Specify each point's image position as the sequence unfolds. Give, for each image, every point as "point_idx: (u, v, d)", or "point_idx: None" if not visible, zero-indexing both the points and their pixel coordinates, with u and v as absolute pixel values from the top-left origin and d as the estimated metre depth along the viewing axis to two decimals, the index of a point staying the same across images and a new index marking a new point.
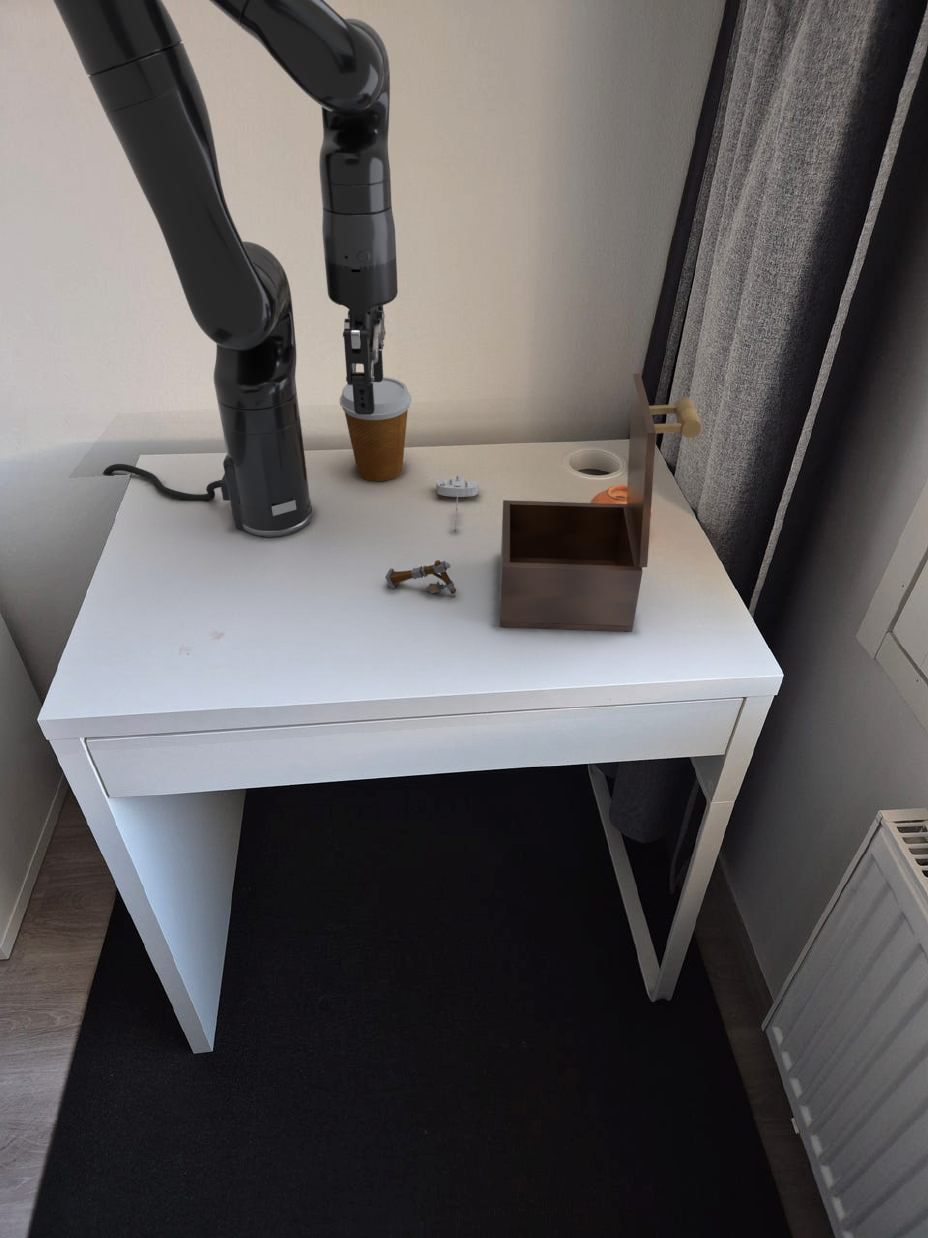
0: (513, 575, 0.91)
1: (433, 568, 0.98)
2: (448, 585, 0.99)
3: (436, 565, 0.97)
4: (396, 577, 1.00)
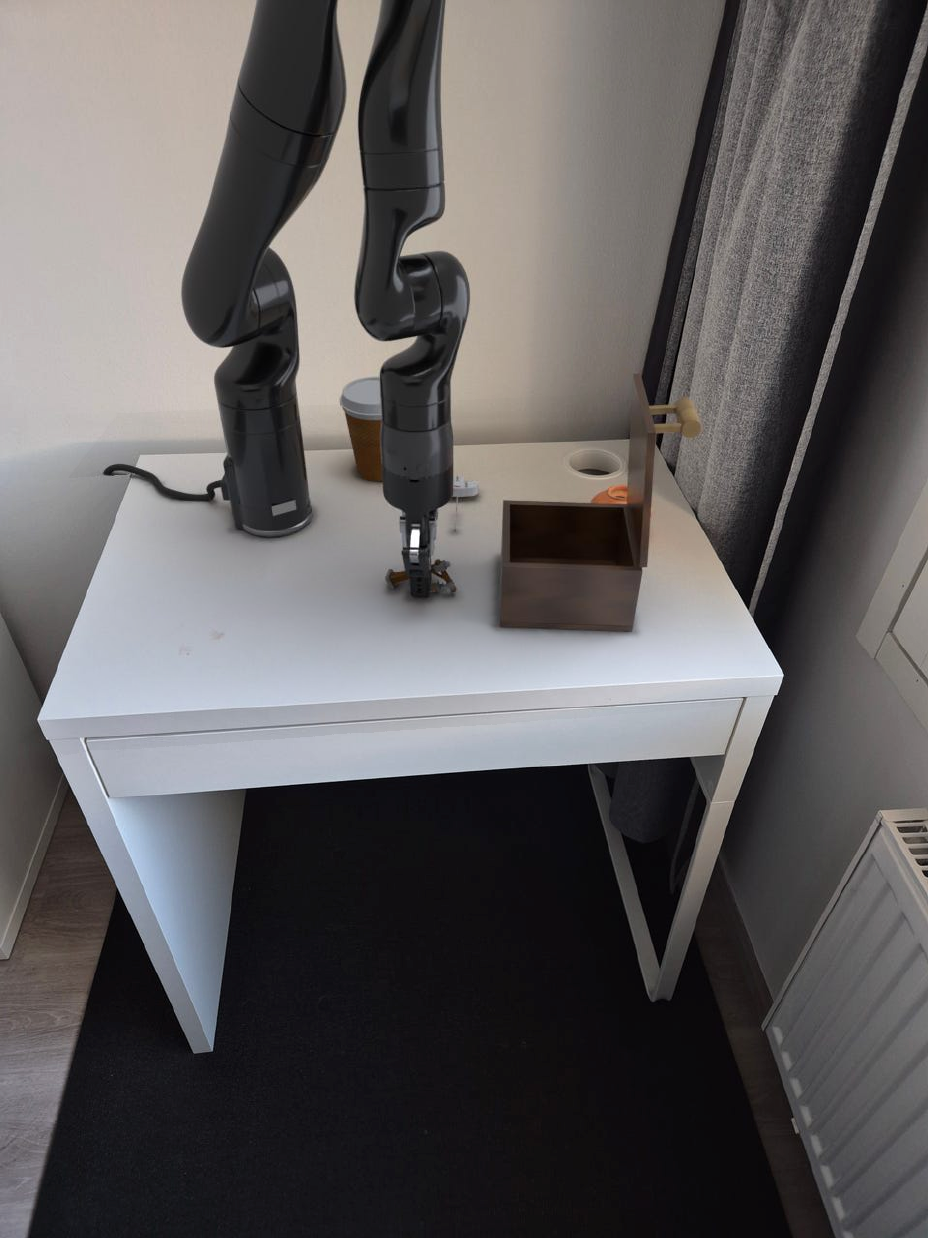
0: (513, 575, 0.91)
1: (433, 567, 0.98)
2: (449, 584, 0.99)
3: (436, 564, 0.97)
4: (396, 577, 1.00)
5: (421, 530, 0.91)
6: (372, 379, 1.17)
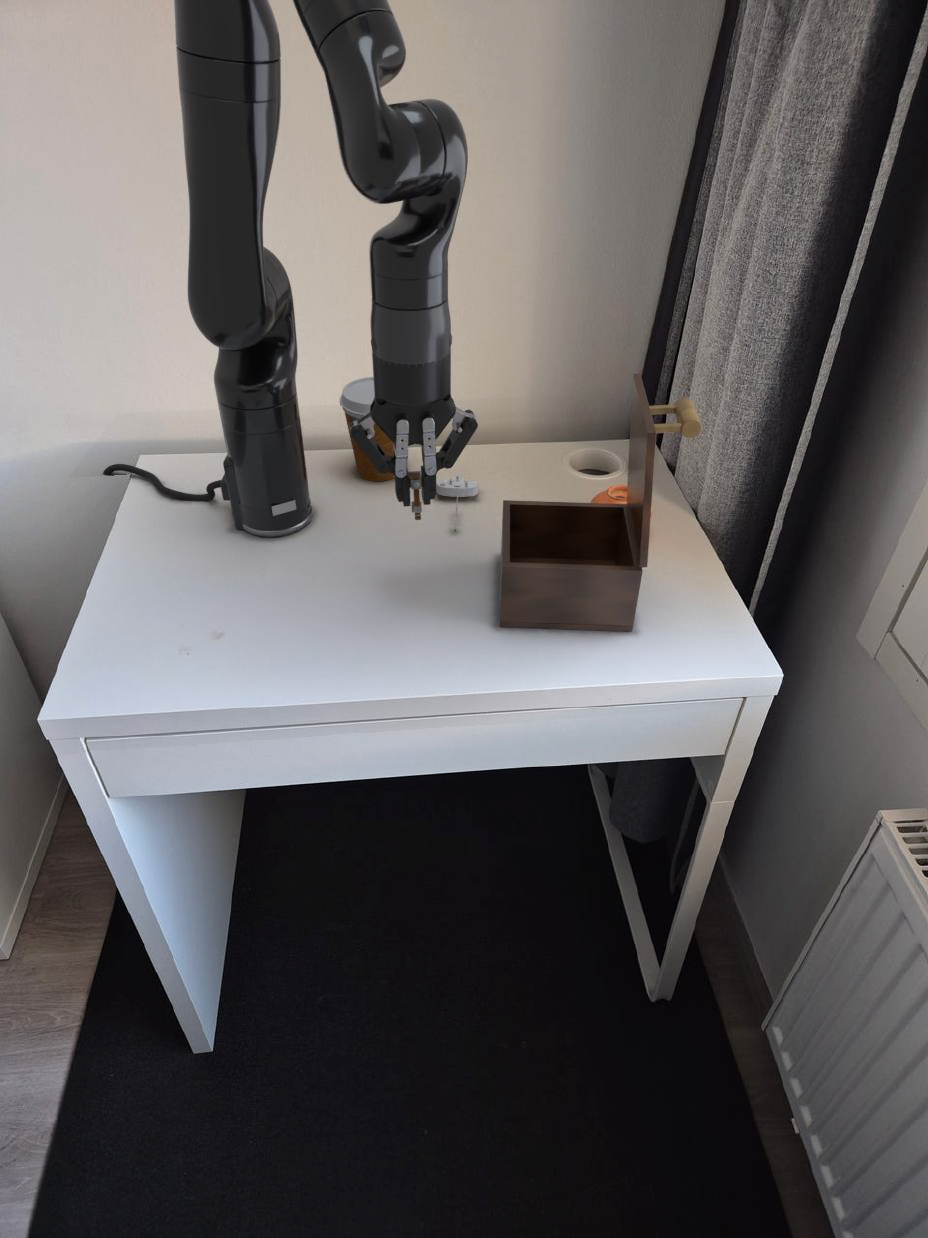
0: (513, 575, 0.91)
1: None
2: (413, 507, 0.89)
3: (412, 479, 0.89)
4: None
5: (371, 413, 0.85)
6: (372, 379, 1.17)
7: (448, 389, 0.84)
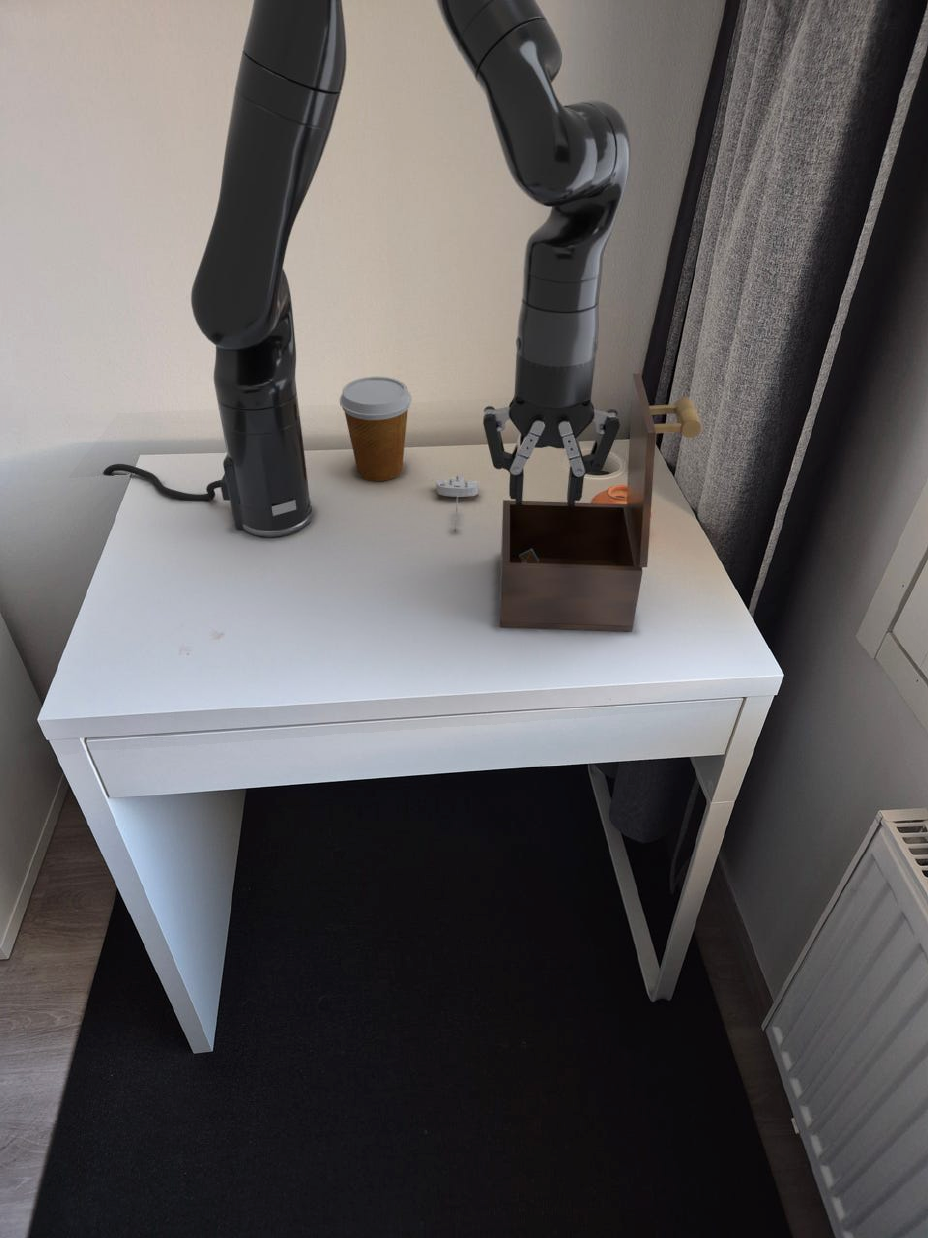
0: (513, 575, 0.91)
1: None
2: None
3: None
4: (523, 560, 1.01)
5: (509, 411, 0.86)
6: (372, 379, 1.17)
7: (588, 394, 0.83)
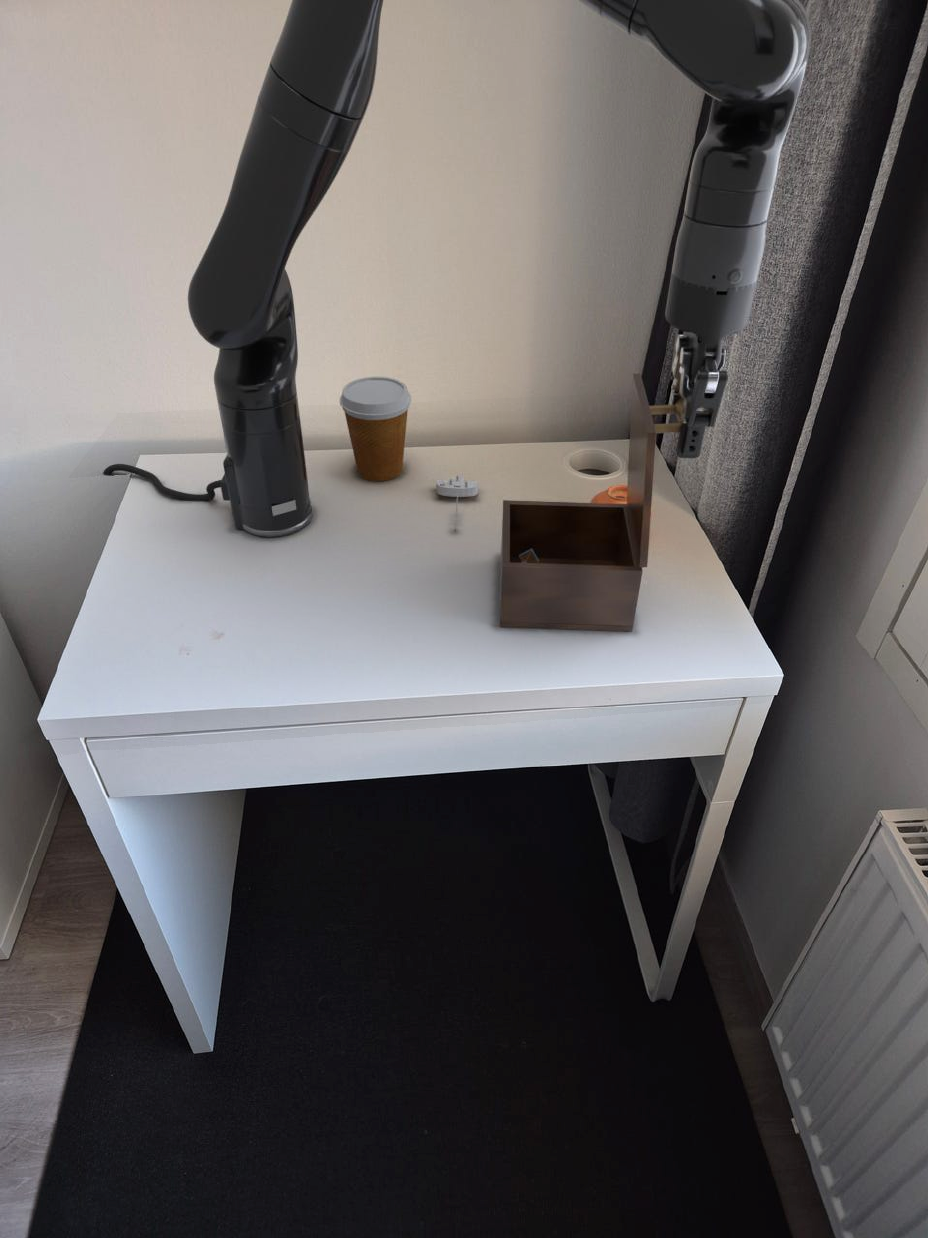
0: (513, 575, 0.91)
1: None
2: None
3: None
4: (523, 560, 1.01)
5: (717, 358, 0.78)
6: (372, 379, 1.17)
7: None
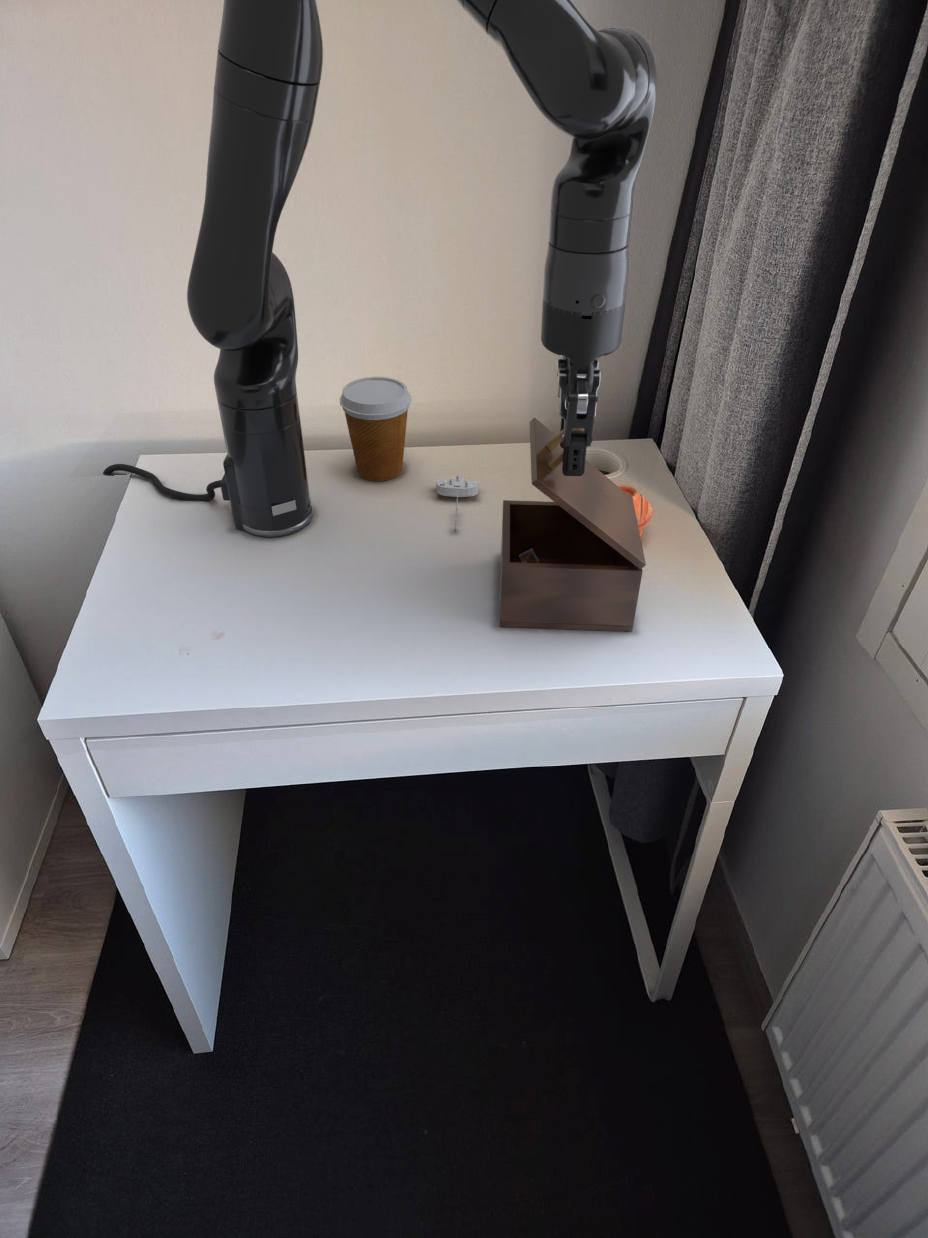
0: (513, 575, 0.91)
1: None
2: None
3: None
4: (523, 560, 1.01)
5: (588, 380, 0.79)
6: (372, 379, 1.17)
7: None
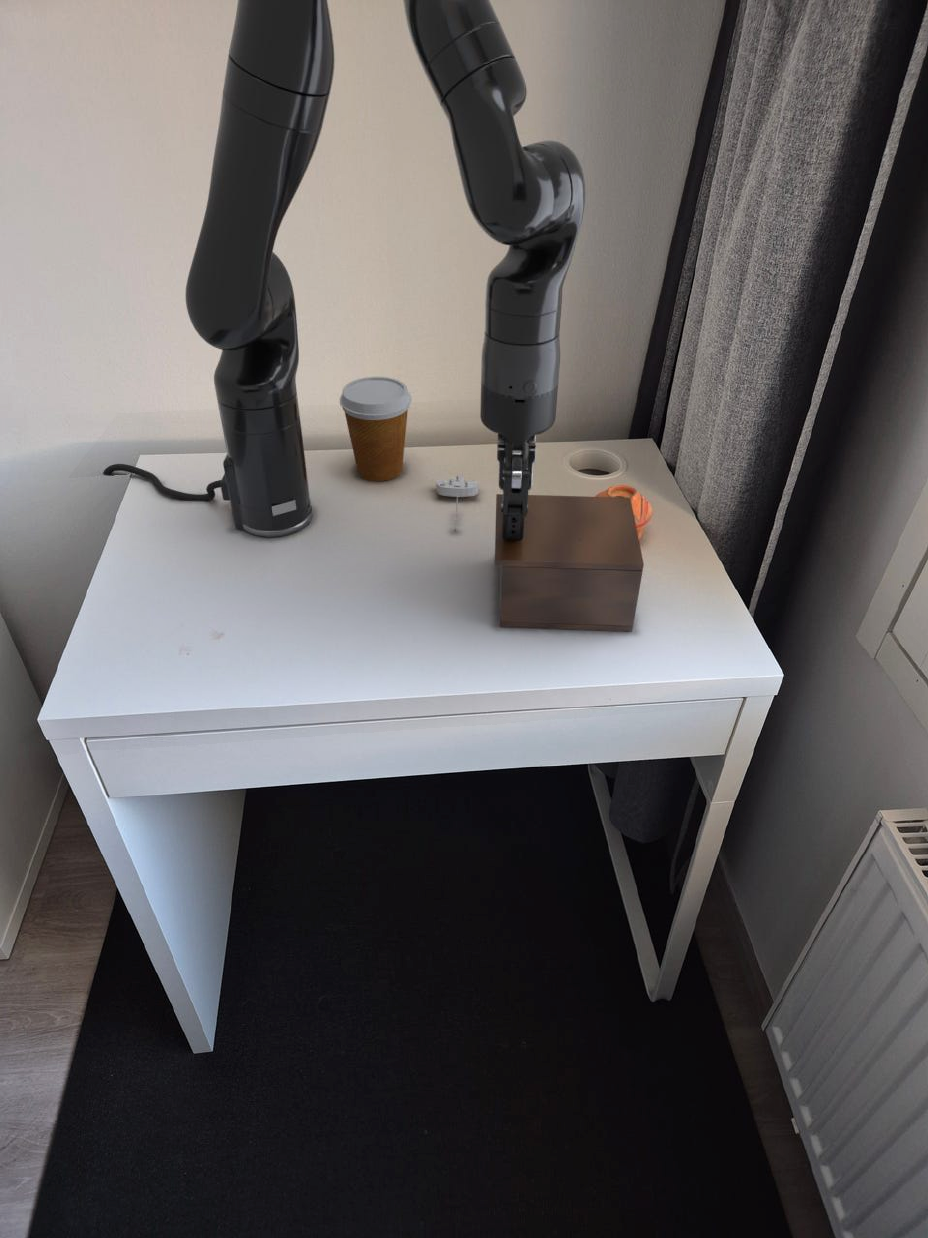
0: (513, 575, 0.91)
1: None
2: None
3: None
4: None
5: (523, 456, 0.85)
6: (372, 379, 1.17)
7: None
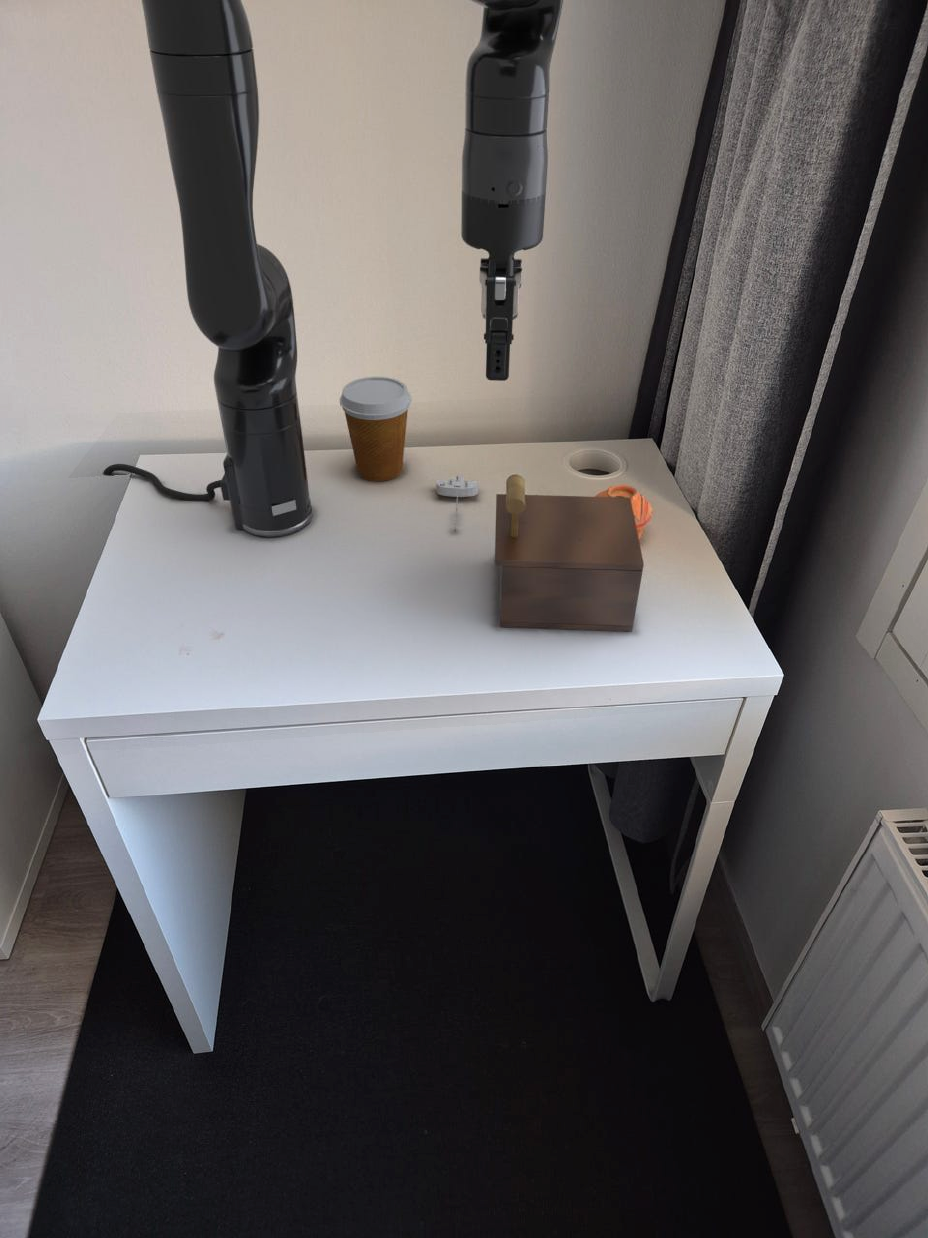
0: (513, 575, 0.91)
1: None
2: None
3: None
4: None
5: (508, 275, 0.78)
6: (372, 379, 1.17)
7: None
